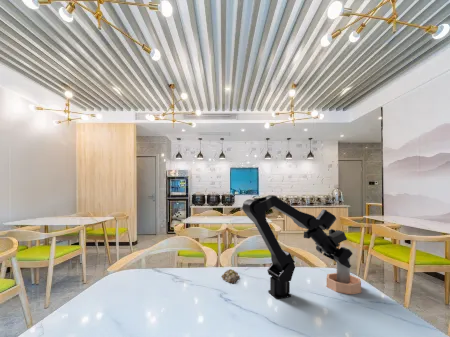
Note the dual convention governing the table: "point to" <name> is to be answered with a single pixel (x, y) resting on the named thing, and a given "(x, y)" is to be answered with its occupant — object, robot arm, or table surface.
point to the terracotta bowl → (349, 288)
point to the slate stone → (343, 273)
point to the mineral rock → (230, 276)
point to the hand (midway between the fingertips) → (346, 265)
